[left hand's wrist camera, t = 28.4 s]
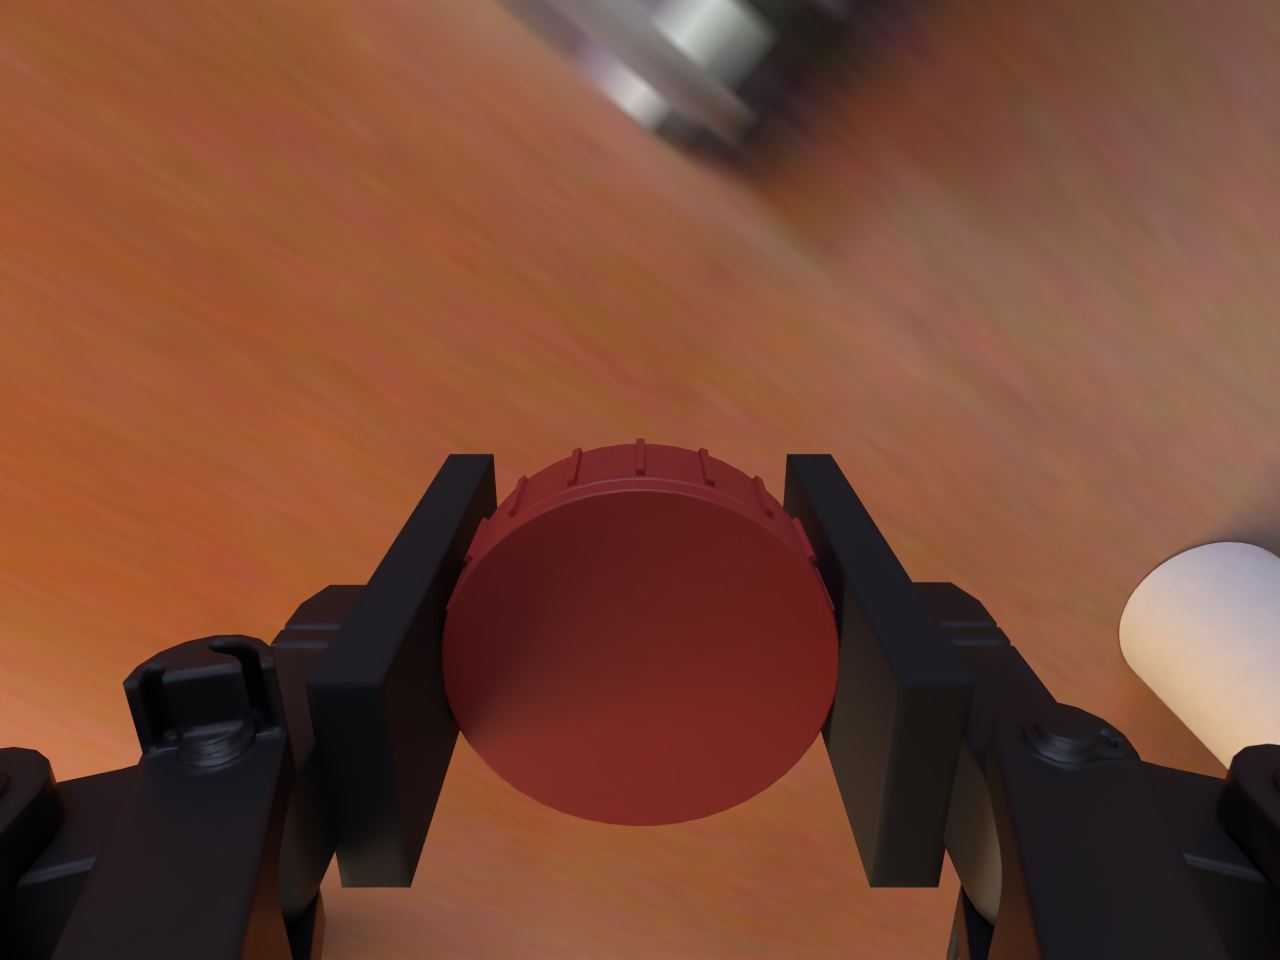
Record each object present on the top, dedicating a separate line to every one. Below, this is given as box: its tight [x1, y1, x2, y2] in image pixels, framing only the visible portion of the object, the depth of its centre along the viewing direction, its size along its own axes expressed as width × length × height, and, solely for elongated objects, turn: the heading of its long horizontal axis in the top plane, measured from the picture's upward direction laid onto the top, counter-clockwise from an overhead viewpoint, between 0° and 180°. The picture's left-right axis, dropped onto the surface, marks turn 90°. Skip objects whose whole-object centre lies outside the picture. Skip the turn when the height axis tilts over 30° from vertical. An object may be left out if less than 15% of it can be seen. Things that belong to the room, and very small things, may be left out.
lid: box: [441, 439, 840, 826], centre depth 11 cm, size 5×5×2 cm
